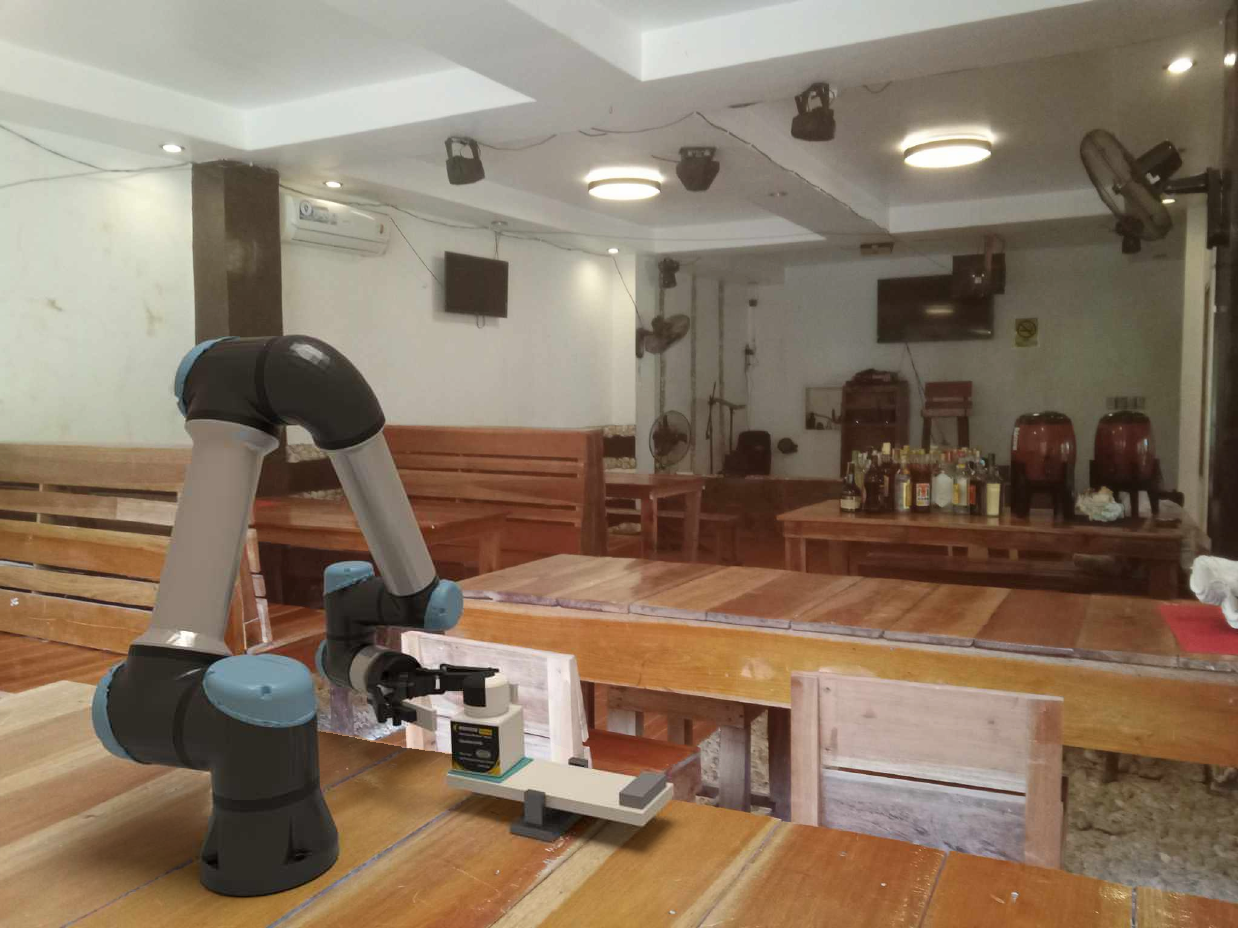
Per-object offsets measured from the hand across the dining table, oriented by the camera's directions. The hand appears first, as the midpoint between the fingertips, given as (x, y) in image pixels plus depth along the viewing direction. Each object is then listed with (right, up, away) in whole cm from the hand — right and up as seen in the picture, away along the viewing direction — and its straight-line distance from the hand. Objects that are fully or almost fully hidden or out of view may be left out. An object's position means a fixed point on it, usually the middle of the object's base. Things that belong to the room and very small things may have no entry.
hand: (477, 706), depth 126 cm
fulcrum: (+11, -12, -6) cm, 18 cm away
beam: (+11, -9, -6) cm, 16 cm away
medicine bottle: (+2, -7, -2) cm, 8 cm away
